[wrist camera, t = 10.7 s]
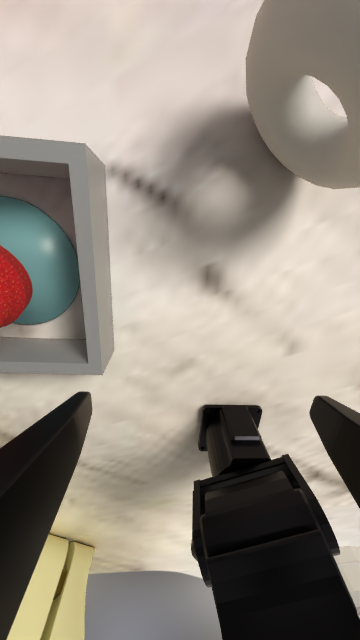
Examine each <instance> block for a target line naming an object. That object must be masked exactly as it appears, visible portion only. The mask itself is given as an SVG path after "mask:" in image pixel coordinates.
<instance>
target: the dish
mask: <svg viewBox="0 0 360 640" xmlns="http://www.w3.org/2000/svg"><path fill="white" fill-rule="evenodd" d="M339 549H340V555H337V556H333V557H334V559H335V561H336V563H337V566H338V568H339V570H340V572H341V575H342V577H343V579H344V581H345V584H346V586H347V588H348V590H349V593H350V595H351V597H352V599H353V602H354V604H355V607H356V609H357V614H358V616H359V618H360V547H356V546H345V547H339Z"/></svg>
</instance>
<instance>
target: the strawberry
mask: <svg viewBox="0 0 360 640" xmlns="http://www.w3.org/2000/svg"><path fill="white" fill-rule="evenodd" d="M32 292H33V288H32V282H31V279H30V277H29V274H28V272H27V271H26V269H25V268H24V266H23V265H22V264H21V263H20V261H19V260H18V259H17V258H16V257H15V256H14V255H13V254H11V253H10V252H9V251H8V250H7V249H5V248H4V247H2V246H1V245H0V328H1V327H4V326H7V325H9V324H11V323H12V322H14V321H15V320H16V319H17V318H18V317H19V316H20V315H21V314H22V312H23V311H24V310H25V308H26V307H27V305H28V304H29V302H30V300H31V298H32Z"/></svg>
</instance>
